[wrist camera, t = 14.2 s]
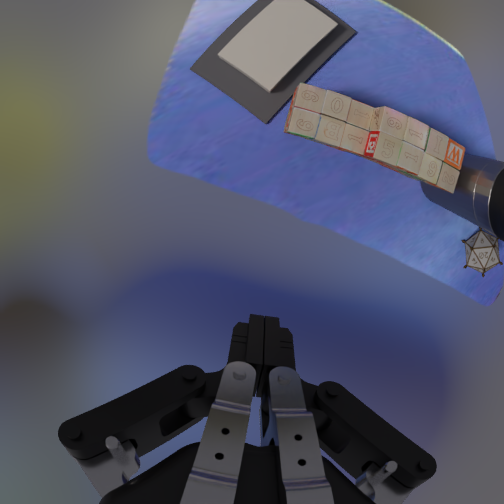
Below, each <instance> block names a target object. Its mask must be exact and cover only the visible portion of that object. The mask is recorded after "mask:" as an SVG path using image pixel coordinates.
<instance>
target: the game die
mask: <svg viewBox="0 0 504 504" xmlns="http://www.w3.org/2000/svg"><path fill="white" fill-rule="evenodd" d="M479 229H480V231H478V232H477V233H476V234H475V235H473V236H472V237H471V238H470V239H468V240H467V241H465V240H462V242H463V243H465V248H466V264H467V265H465V266H464V268H467V266H468V267H470V268H473V269H475V270H477V271H479V272H481V273H482V276H483V277H484V276H485V275H484V273H485V272H486V271H488V270H490V269H491V268H493V267H494V266H495V265H497V264H498V263H500V264H501V265H503V263H502V262H500V259H499V248H498V239H499V238H496V237H494V236H492V235H490V234H488V233H486V232H484V231H482V228H480V227H479Z"/></svg>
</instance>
